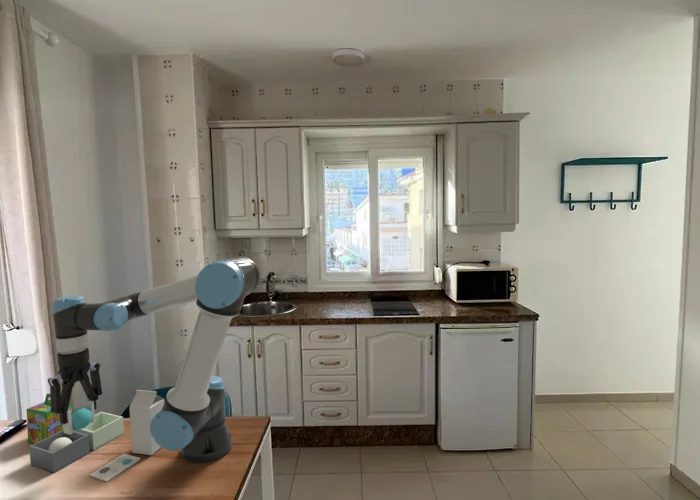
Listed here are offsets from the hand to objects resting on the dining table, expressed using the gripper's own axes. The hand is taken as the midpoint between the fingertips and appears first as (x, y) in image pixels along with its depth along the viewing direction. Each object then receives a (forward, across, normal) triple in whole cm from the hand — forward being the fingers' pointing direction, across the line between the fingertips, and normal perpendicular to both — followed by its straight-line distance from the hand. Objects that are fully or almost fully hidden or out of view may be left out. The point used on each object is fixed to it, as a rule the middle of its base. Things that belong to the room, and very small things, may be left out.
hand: (80, 427), depth 116 cm
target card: (+13, -4, +8) cm, 16 cm away
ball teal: (0, 0, 0) cm, 0 cm away
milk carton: (+13, -15, +9) cm, 22 cm away
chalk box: (+13, -8, -28) cm, 31 cm away
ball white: (+12, -1, -12) cm, 17 cm away
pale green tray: (+13, -13, -12) cm, 21 cm away
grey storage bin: (+13, -1, -12) cm, 17 cm away
